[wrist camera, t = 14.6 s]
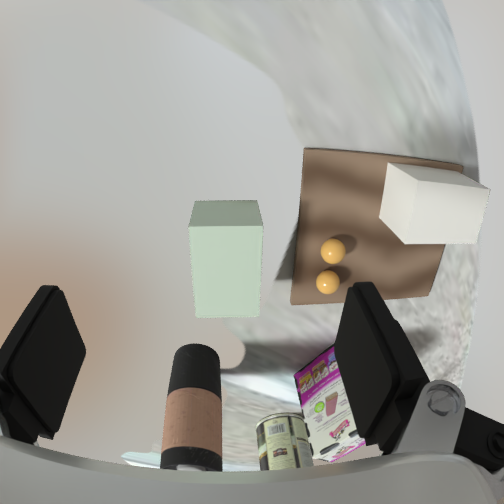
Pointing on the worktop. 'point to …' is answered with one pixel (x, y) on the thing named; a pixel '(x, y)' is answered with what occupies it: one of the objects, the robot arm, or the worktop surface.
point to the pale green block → (226, 258)
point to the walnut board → (356, 229)
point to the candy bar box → (326, 409)
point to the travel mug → (193, 412)
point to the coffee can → (283, 442)
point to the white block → (432, 205)
